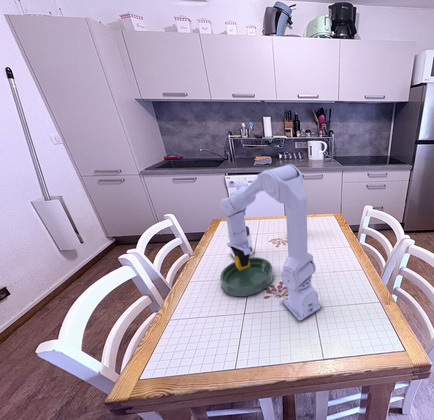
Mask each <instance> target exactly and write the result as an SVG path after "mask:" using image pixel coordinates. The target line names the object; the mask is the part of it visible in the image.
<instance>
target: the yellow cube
mask: <svg viewBox="0 0 434 420" xmlns="http://www.w3.org/2000/svg"><path fill="white" fill-rule="evenodd" d="M233 259H234V262H235V265H236V267H237V268H238V269H239V270H243V269H245V268H248V267H250V261H249V262H248V265H247V266H244V267H242V266H241V263H240V260H239V258H238V256H234V257H233Z"/></svg>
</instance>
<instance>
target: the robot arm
mask: <svg viewBox="0 0 434 420" xmlns="http://www.w3.org/2000/svg"><path fill="white" fill-rule="evenodd" d="M303 185H304V184H303V173H302V172H301V170H299V169H298V167H296V166H295V165H294V164H291V163H288V164H285V165H282V166H278V167H274V168H271V169H270V168H269V169H265V170H262V171H261V172H259V173H257V177H255V179H253V180H252V182H251V183H249V185H248V186H247V185H240V186H239V185H238V186H237V187H236V191H234V192H232V193H230V194H229V195H230V196H228V197H226V198H221V200H220V202H219V207H220V210H221V212H222V214H223V215H224V216H225V220H226V224H227V231H229V233H228V236H229V237H230V242H229V241H228V242H227V243H226V246H227V247H228V248H230V250H231V249H232V251H233V253H234V255H235V256H238V258H239V260H240V263H241V266H242V267H244V266H247V265H248V262H249V258H250V257H251V255H252V254H251V252H252V248H253V247H252V248H251V247H249V242H248V238H247V232H246V226H247V225H246V217H245V216H246V211H247V207H248V206H250V205H251V204H252V203H254V202H255V200H256V196H257V195H258V194H260V193H261V192H265V193H266V195H268V196H269V197H271V198H272V199H274V200H275V201H276V202H278V203H279V204H282V205H284V206H285V219H286V238H287V257H286V259H285V261H284V263H283V265H282V271H281V273H280V278H281V279H280V280H281V283H282V284H283V285H284V287H285V288H287V296H288V299H285V300H284V301H283V304H284V306H285V307H286V308H287V309H288V310H289V311H290V312H291V313H292V315H293V316H294V317H295V318H296V319H297V320H298V321H300V322H301V321H302V320H304V319H305V318H307V317H309V316H310V315H312V314H314V313H315V312H317V311H319V310H320V309H321V305H320V304H319V293H318V292H317V291H316V289H315V288H314V286H313V283H312V278H313V275H314V274H315V273H316V271H317V269H316V264H315V262H314V255H313V254H311V253H310V252H308V206H307V205H308V199H307V198H308V197H307V195H306V192H305V189H304V186H303ZM229 237H228V238H229ZM250 254H251V255H250Z"/></svg>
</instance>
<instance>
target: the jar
mask: <svg viewBox="0 0 434 420" xmlns="http://www.w3.org/2000/svg"><path fill="white" fill-rule="evenodd" d="M227 231H228V230H227ZM250 231H251V230H250V228H249V226H247V225H246V232H247V238H248V242H249V247H251V248H252V252H251V254H250V256H252V255H253V254H254V247H253V242H252V241H253V240H252V234H251V233H250ZM227 233H228V234H229V231H228V232H227ZM229 242H230V237H229V235H228V243H229ZM230 255H231V256H232V257H233V258H234V256H235V255H234V253H233V251H232V249H231V248H230Z"/></svg>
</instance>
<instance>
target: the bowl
mask: <svg viewBox="0 0 434 420" xmlns="http://www.w3.org/2000/svg"><path fill="white" fill-rule="evenodd" d="M249 261H250V267H248V268H245V269H243V270H239V269H238V268H237V267H236V265H235V261H233V262H231V263H229V264H228V265H226V266H225V267H224V269H223V270H222V271H221V273H220V277H219V278H220V284H221V288H222V290H223V291H224V292H225V293H227V294H228V295H230V296H233V297H247V296H252V295H256V294H258V293H260V292H261V291H263V290H264V289H266V288H267V287H268V286H269V285H270V284H271V283H272V281H273V278H274V272H273V271H274V270H273V266H272V263H271V262H270V261H269V260H268V259H265V258H263V257H255V256H249Z"/></svg>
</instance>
